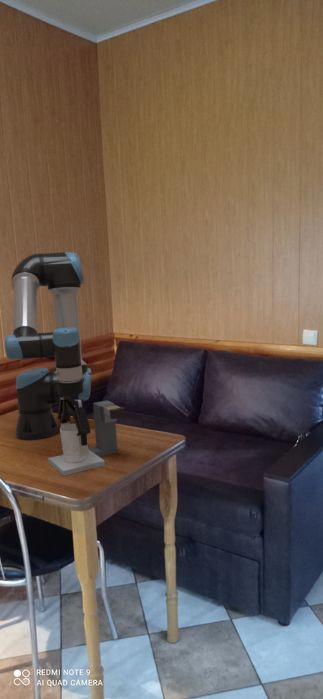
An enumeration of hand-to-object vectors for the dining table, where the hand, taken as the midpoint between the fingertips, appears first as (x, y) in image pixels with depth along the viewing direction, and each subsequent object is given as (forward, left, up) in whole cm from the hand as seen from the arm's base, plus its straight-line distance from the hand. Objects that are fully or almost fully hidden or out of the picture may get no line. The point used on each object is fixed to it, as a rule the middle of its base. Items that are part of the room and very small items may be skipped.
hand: (75, 449), depth 161 cm
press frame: (0, +4, -5) cm, 6 cm away
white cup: (0, 0, -3) cm, 3 cm away
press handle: (+3, +12, +6) cm, 14 cm away
